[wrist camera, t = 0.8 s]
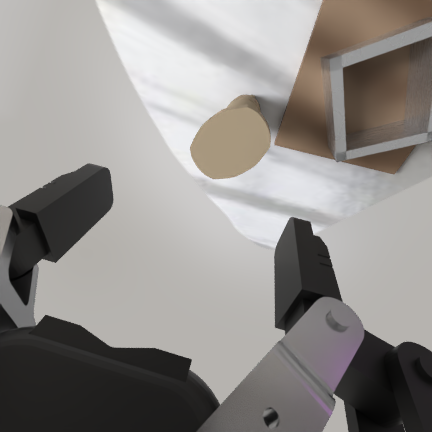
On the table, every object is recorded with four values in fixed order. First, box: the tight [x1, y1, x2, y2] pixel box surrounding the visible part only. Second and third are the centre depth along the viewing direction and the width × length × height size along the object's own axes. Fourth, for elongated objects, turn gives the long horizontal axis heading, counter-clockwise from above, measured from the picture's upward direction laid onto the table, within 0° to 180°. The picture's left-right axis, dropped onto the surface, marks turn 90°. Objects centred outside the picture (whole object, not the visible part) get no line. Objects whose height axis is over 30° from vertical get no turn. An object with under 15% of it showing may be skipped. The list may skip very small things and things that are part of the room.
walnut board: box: [275, 0, 432, 174], centre depth 24 cm, size 20×16×1 cm
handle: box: [190, 95, 271, 179], centre depth 23 cm, size 5×6×15 cm
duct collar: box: [320, 17, 432, 162], centre depth 23 cm, size 10×9×5 cm
